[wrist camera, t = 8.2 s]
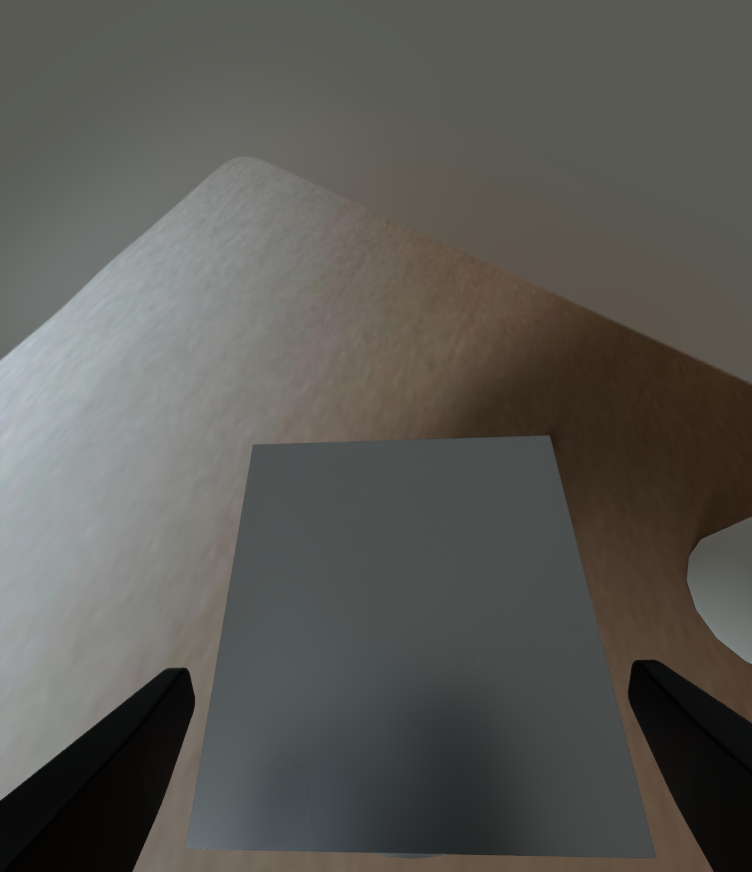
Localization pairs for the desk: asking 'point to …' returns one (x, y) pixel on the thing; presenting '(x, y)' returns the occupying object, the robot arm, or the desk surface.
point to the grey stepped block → (413, 662)
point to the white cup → (725, 585)
